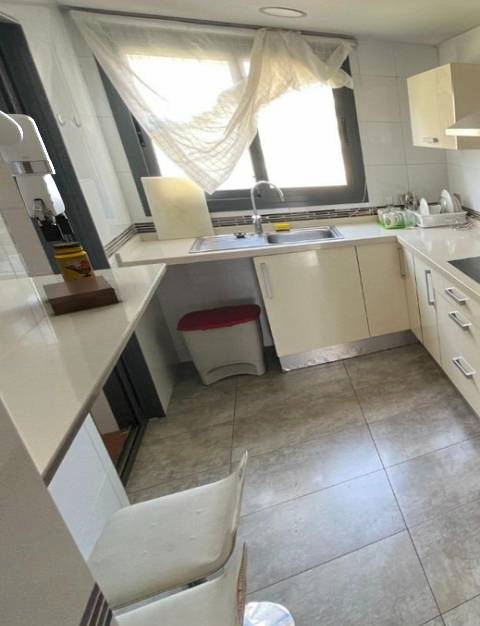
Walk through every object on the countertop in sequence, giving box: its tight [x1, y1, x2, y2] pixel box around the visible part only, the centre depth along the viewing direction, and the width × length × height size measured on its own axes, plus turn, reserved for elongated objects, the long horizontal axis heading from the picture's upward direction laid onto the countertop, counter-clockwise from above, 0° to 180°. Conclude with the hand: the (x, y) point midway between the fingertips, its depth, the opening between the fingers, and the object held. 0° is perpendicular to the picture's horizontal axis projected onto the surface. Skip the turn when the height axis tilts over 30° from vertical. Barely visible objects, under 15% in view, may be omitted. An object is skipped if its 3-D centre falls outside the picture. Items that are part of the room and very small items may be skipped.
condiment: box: [51, 241, 97, 282], centre depth 121 cm, size 7×8×12 cm
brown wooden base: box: [42, 275, 120, 317], centre depth 112 cm, size 11×16×4 cm
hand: (60, 237), depth 119 cm, fingers open, 9 cm apart
